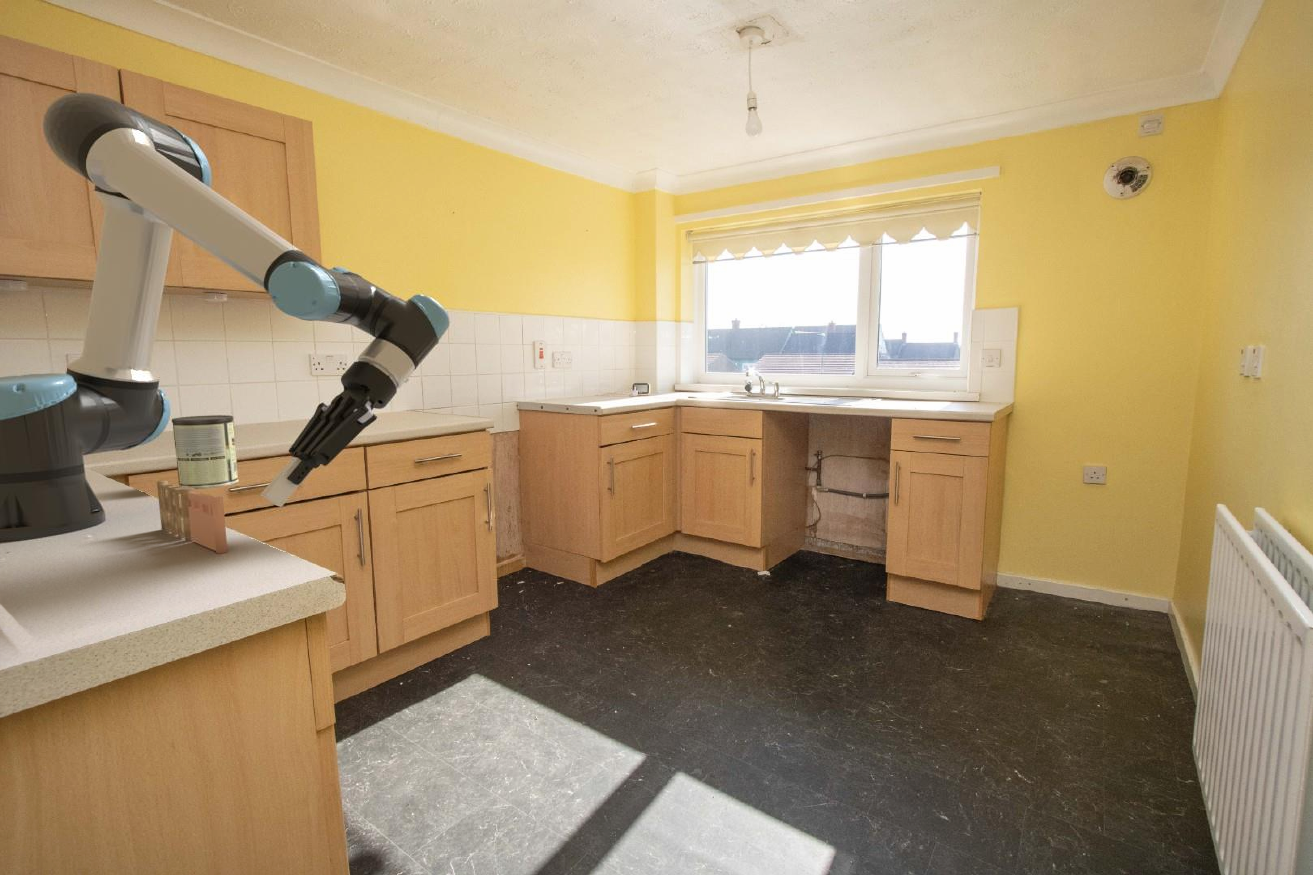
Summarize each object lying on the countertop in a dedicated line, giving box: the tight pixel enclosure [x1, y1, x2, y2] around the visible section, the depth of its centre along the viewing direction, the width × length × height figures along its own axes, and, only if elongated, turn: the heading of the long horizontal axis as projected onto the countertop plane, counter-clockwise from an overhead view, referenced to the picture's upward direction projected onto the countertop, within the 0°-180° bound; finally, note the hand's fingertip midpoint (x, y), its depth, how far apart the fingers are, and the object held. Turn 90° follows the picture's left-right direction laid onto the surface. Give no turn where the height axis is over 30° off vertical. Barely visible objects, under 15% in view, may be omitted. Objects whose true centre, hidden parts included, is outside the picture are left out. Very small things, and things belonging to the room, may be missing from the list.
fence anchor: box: [156, 480, 196, 543], centre depth 88 cm, size 11×2×8 cm, turn 55°
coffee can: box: [171, 414, 240, 490], centre depth 129 cm, size 10×10×14 cm
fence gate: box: [188, 490, 229, 555], centre depth 82 cm, size 9×1×7 cm, turn 55°
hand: (271, 500), depth 85 cm, fingers closed
